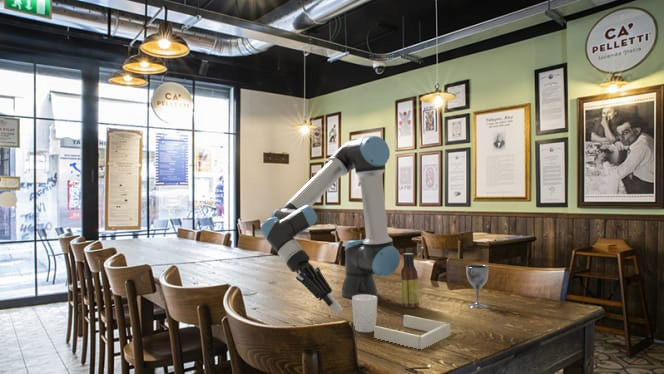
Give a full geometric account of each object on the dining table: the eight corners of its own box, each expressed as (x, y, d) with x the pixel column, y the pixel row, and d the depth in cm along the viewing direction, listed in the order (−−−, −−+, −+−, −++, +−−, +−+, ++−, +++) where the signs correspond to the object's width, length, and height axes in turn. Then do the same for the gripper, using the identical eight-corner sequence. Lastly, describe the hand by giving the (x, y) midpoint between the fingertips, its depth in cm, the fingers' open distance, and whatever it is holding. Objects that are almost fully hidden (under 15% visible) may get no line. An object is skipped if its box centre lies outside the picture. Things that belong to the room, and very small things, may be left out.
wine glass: (463, 303, 172) (463, 264, 172) (483, 303, 173) (483, 264, 173) (471, 309, 164) (471, 268, 164) (492, 308, 165) (492, 267, 165)
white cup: (376, 334, 135) (376, 300, 135) (350, 332, 136) (350, 299, 137) (378, 326, 143) (378, 294, 143) (354, 325, 144) (354, 293, 144)
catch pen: (374, 338, 130) (374, 326, 130) (405, 325, 143) (405, 314, 143) (421, 350, 120) (421, 337, 120) (450, 335, 133) (450, 323, 133)
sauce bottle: (420, 305, 169) (420, 252, 170) (416, 309, 164) (416, 254, 164) (403, 303, 172) (403, 252, 172) (399, 307, 166) (399, 254, 167)
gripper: (297, 261, 158) (340, 314, 150) (277, 266, 146) (322, 324, 138) (310, 246, 155) (354, 300, 148) (291, 251, 144) (338, 309, 136)
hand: (339, 311), depth 143 cm, fingers closed
